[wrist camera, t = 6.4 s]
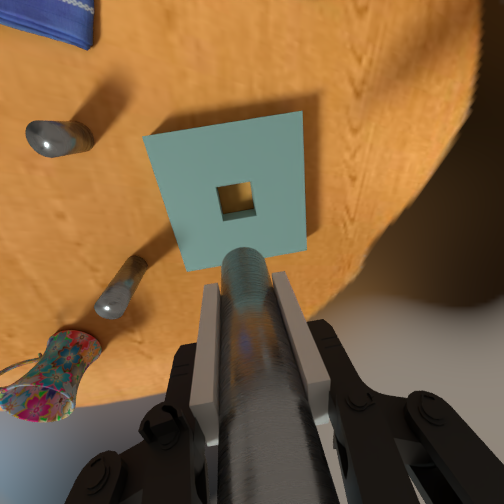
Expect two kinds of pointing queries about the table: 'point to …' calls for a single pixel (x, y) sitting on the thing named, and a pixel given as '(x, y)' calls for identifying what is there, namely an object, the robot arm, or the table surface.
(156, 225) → the table surface
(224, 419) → the long pin
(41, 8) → the dish towel
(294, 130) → the hole block
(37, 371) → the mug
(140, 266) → the medium pin
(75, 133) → the short pin
